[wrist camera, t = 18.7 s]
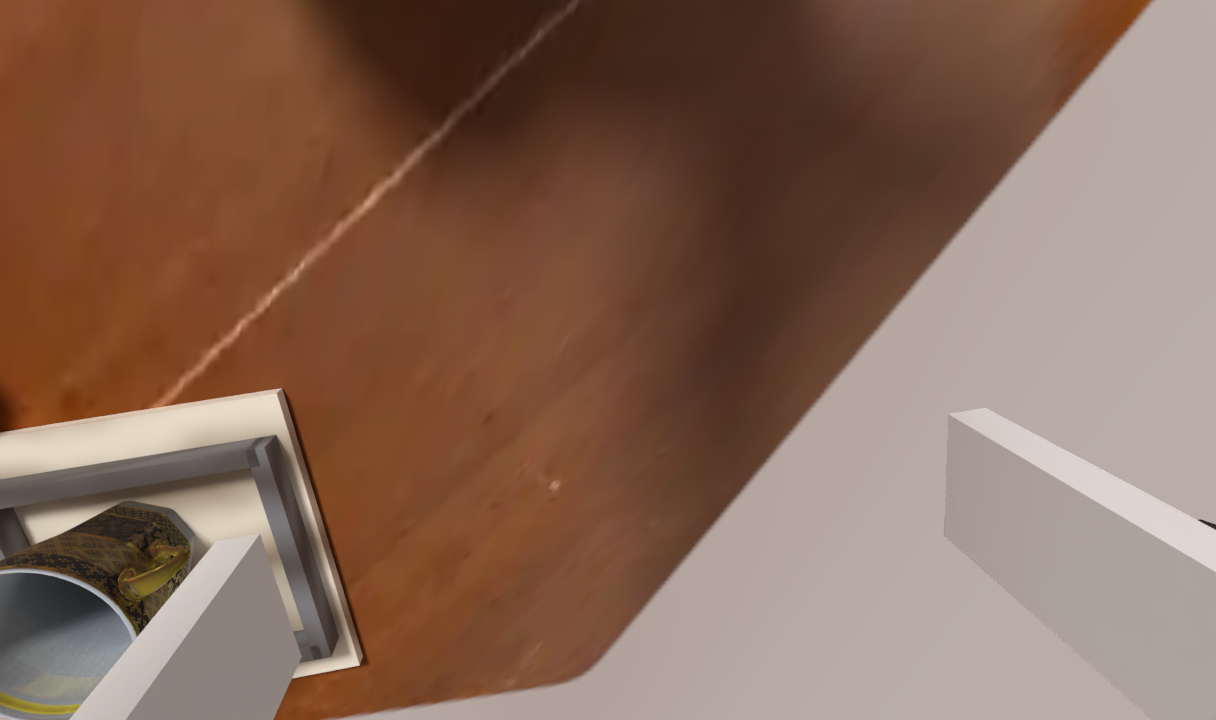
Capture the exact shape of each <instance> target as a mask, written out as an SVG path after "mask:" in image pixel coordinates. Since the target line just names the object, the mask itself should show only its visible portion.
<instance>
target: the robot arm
mask: <svg viewBox="0 0 1216 720" xmlns="http://www.w3.org/2000/svg"><path fill="white" fill-rule="evenodd" d="M946 466H947V467H946V491H945V518H944V519H945V520H944V536H945V537H946V538H947V539H948V540H950V541H951V542H952V543H953V544H954V545H955V546H956V547H958V548H959V549H960V550H961V551H962V552H963V553H964V554H965V555H967V556H968V557H969V558H970V559H971V560H972V561H973V562H974V563H975V564H977V565H978V566H979V567H980V568H981V569H982V570H983V571H984V572H986V573H987V574H988V575H989V576H990V577H991V578H992V579H993V580H995V581H996V582H997V583H998V584H999V585H1000V586H1001V587H1003V588H1004V589H1005V590H1006V591H1007V592H1008V593H1009V594H1010V595H1011V596H1013V597H1014V598H1015V599H1016V600H1017V601H1018V602H1019V603H1020V604H1022V605H1023V606H1024V607H1025V608H1026V609H1027V610H1028V611H1029V612H1031V613H1032V614H1033V615H1034V616H1035V617H1036V618H1038V619H1039V620H1040V621H1041V622H1042V623H1043V624H1044V625H1045V626H1046V627H1048V628H1049V629H1050V630H1051V631H1052V632H1053V633H1054V634H1055V635H1057V636H1058V637H1059V638H1060V639H1061V640H1062V641H1063V642H1064V643H1066V644H1067V645H1068V646H1069V647H1070V648H1071V649H1072V650H1074V651H1075V652H1076V653H1077V654H1078V655H1079V656H1080V657H1081V658H1083V659H1084V660H1085V661H1086V662H1087V663H1088V664H1089V665H1090V666H1091V667H1093V668H1094V669H1095V670H1096V671H1097V672H1098V673H1099V674H1100V675H1102V676H1103V677H1104V678H1105V679H1106V680H1107V681H1108V682H1109V683H1111V684H1112V685H1113V686H1114V687H1115V688H1116V689H1117V690H1119V691H1120V692H1121V693H1122V694H1123V695H1124V696H1125V697H1126V698H1127V699H1129V700H1130V701H1131V702H1132V703H1133V704H1134V705H1135V706H1137V707H1138V708H1139V709H1140V710H1141V711H1142V712H1143V713H1144V714H1146V715H1147V716H1148V717H1149V718H1150V719H1151V720H1216V525H1215V524H1212V523H1209V522H1206V521H1203V520H1196V519H1194V518H1192V517H1190V516H1188V515H1187V514H1185V513H1183V512H1181V511H1179V510H1177V509H1175V508H1173V507H1171V506H1170V505H1168V504H1166V503H1164V502H1162V501H1160V500H1158V499H1156V498H1154V497H1152V496H1151V495H1149V494H1147V493H1145V492H1143V491H1141V490H1139V489H1138V488H1136V487H1134V486H1132V485H1130V484H1128V483H1126V482H1124V481H1122V480H1120V479H1119V478H1117V477H1115V476H1113V475H1111V474H1109V473H1107V472H1105V471H1103V470H1102V469H1100V468H1098V467H1096V466H1094V465H1092V464H1090V463H1088V462H1087V461H1085V460H1083V459H1081V458H1079V457H1077V456H1075V455H1073V454H1071V453H1070V452H1068V451H1066V450H1064V449H1062V448H1060V447H1058V446H1056V445H1054V444H1052V443H1051V442H1049V441H1047V440H1045V439H1043V438H1041V437H1039V436H1037V435H1036V434H1034V433H1032V432H1030V431H1028V430H1026V429H1024V428H1022V427H1020V426H1019V425H1016V424H1015V423H1013V422H1011V421H1009V420H1007V419H1005V418H1003V417H1002V416H999V415H998V414H996V413H994V412H992V411H990V410H988V409H987V408H981V409H975V410H970V411H963V412H958V413H952V414H948V437H947V464H946ZM301 657H302V656H301V653H300V650H299V647H298V644H297V641H296V638H295V635H294V632H293V630H292V627H291V624H290V621H289V618H288V615H287V612H286V609H285V606H284V603H283V600H282V597H281V594H280V591H279V588H278V585H277V582H276V579H275V576H274V573H273V571H272V568H271V565H270V562H269V559H268V556H267V553H266V550H265V547H264V544H263V541H262V538H261V535H260V534H256V535H250V536H244V537H238V538H232V539H227V540H221V541H216V542H215V543H214V545H213V546H212V547H211V548H210V549H209V551H208V552H207V553H206V554H205V555H204V557H203V558H202V559H201V560H200V561H199V563H198V564H197V565H196V566H195V568H194V569H193V570H192V571H191V572H190V574H189V575H188V576H187V577H186V578H185V580H184V581H183V582H182V583H181V585H180V586H179V587H178V588H177V589H176V591H175V592H174V593H173V594H172V595H171V597H170V598H169V599H168V600H167V602H166V603H165V604H164V605H163V606H162V608H161V609H160V610H159V611H158V612H157V614H156V615H155V616H154V617H153V618H152V620H151V621H150V622H149V623H148V625H147V626H146V627H145V628H144V629H143V631H142V632H141V633H140V634H139V635H138V637H137V638H136V639H135V640H134V642H133V643H132V644H131V645H130V646H129V648H128V649H127V650H126V651H125V652H124V654H123V655H122V656H121V657H120V659H119V660H118V661H117V662H116V663H115V665H114V666H113V667H112V668H111V669H110V671H109V672H108V673H107V674H106V675H105V677H104V678H103V679H102V680H101V682H100V683H99V684H98V685H97V686H96V688H95V689H94V690H93V691H92V692H91V694H90V695H89V696H88V697H87V699H86V700H85V701H84V702H83V703H82V705H81V706H80V707H79V708H78V709H77V711H76V712H75V713H74V714H73V716H72V717H71V718H70V719H69V720H273V719H274V717H275V714H276V712H277V710H278V708H279V706H280V703H281V701H282V699H283V697H284V695H285V692H286V690H287V688H288V686H289V684H290V681H291V679H292V677H293V675H294V673H295V671H296V668H297V666H298V664H299V662H300V660H301Z"/></svg>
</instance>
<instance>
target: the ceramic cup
mask: <svg viewBox="0 0 1216 720" xmlns="http://www.w3.org/2000/svg"><path fill="white" fill-rule="evenodd" d="M194 542H195V534H194V533H193V532H192V531H191V530H190V528H189V527H188V526H187V525H186V524H185V523H184V522H183V521H182V520H181V518H180V517H179V516H178V515H177V514H176V513H175V512H174V511H173V509H171V508H167V507H162V506H156V505H151V504H146V503H140V502H135V501H123V502H121V503H119V504H117V505H115V506H113V507H111V508H109V509H107V510H105V511H103V512H101V513H100V514H98V515H96V516H94V517H92V518H91V519H89V520H87V521H85V522H83V523H81V524H79V525H77V526H75V527H73V528H71V529H69V530H67V531H65V532H63V533H61V534H59V535H57V536H54V537H52V538H49V539H47V540H44V541H42V542H39V543H37V544H34V545H32V546H29V547H27V548H25V549H23V550H21V551H19V552H17V553H14V554H12V555H10V556H8V557H6V558H4V559H2V560H0V716H2V717H5V718H8V719H12V720H69V719H70V718H71V717H72V716H73V714H74V713H75V712H76V711H77V709H78V708H79V707H80V706H81V705H82V703H83V702H84V701H85V700H86V699H87V697H88V696H89V695H90V694H91V692H92V691H93V690H94V689H95V688H96V686H97V685H98V684H99V683H100V682H101V680H102V679H103V678H104V677H105V675H106V674H107V673H108V672H109V671H110V669H111V668H112V667H113V666H114V665H115V663H116V662H117V661H118V660H119V659H120V657H121V656H122V655H123V654H124V652H125V651H126V650H127V649H128V648H129V646H130V645H131V644H132V643H133V642H134V640H135V639H136V638H137V637H138V635H139V634H140V633H141V632H142V631H143V629H144V628H145V627H146V626H147V625H148V623H149V622H150V621H151V620H152V618H153V617H154V616H155V615H156V614H157V612H158V611H159V610H160V609H161V608H162V606H163V605H164V604H165V603H166V602H167V600H168V599H169V598H170V597H171V595H172V594H173V593H174V592H175V591H176V589H177V588H178V587H179V586H180V585H181V583H182V582H183V581H184V580H185V578H186V577H187V576H188V574H189V571H190V568H191V561H192V555H193V549H194Z"/></svg>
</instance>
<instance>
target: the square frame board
mask: <svg viewBox="0 0 1216 720" xmlns="http://www.w3.org/2000/svg"><path fill="white" fill-rule="evenodd" d="M123 501H135V502H140V503H146V504H151V505H156V506H162V507H167V508H171V509H173V511H174V512H175V513H176V514H177V515H178V516H179V517H180V518H181V520H182V521H183V522H184V523H185V524H186V525H187V526H188V527H189V528H190V530H191V531H192V532H193V533H194V534H195V542H194V549H193V555H192V561H191V568H190V571H189V574H190V572H191V571H192V570H193V569H194V568H195V566H196V565H197V564H198V563H199V561H200V560H201V559H202V558H203V557H204V555H205V554H206V553H207V552H208V551H209V549H210V548H211V547H212V546H213V545H214V543H215V542H216V541H221V540H227V539H232V538H238V537H244V536H250V535H256V534H260V535H261V538H262V541H263V544H264V547H265V550H266V553H267V556H268V559H269V562H270V565H271V568H272V571H273V573H274V576H275V579H276V582H277V585H278V588H279V591H280V594H281V597H282V600H283V603H284V606H285V609H286V612H287V615H288V618H289V621H290V624H291V627H292V630H293V632H294V635H295V638H296V641H297V644H298V647H299V650H300V653H301V656H302V657H301V660H300V662H299V664H298V666H297V668H296V671H295V673H294V675H293V677H292V678H297V677H302V676H307V675H313V674H318V673H323V672H328V671H334V670H339V669H344V668H349V667H354V666H360V663H361V660H362V657H363V654H362V651H361V648H360V645H359V641H358V638H357V635H356V631H355V628H354V625H353V621H352V618H351V615H350V611H349V608H348V605H347V601H346V598H345V595H344V591H343V588H342V585H341V582H340V578H339V575H338V572H337V568H336V565H335V562H334V558H333V555H332V552H331V548H330V545H329V542H328V538H327V535H326V532H325V529H324V525H323V522H322V519H321V515H320V512H319V509H318V505H317V502H316V499H315V495H314V492H313V489H312V485H311V482H310V479H309V475H308V472H307V469H306V466H305V462H304V459H303V456H302V452H301V449H300V446H299V442H298V439H297V436H296V432H295V429H294V426H293V422H292V419H291V416H290V413H289V409H288V406H287V403H286V399H285V396H284V393H283V389H282V388H280V389H274V390H267V391H261V392H255V393H248V394H242V395H235V396H229V397H223V398H216V399H210V400H204V401H197V402H191V403H184V404H178V405H172V406H165V407H159V408H152V409H146V410H140V411H133V412H127V413H121V414H114V415H108V416H101V417H95V418H89V419H82V420H76V421H69V422H63V423H57V424H50V425H44V426H38V427H31V428H25V429H18V430H12V431H6V432H0V560H2V559H4V558H6V557H8V556H10V555H12V554H14V553H17V552H19V551H21V550H23V549H25V548H27V547H29V546H32V545H34V544H37V543H39V542H42V541H44V540H47V539H49V538H52V537H54V536H57V535H59V534H61V533H63V532H65V531H67V530H69V529H71V528H73V527H75V526H77V525H79V524H81V523H83V522H85V521H87V520H89V519H91V518H92V517H94V516H96V515H98V514H100V513H101V512H103V511H105V510H107V509H109V508H111V507H113V506H115V505H117V504H119V503H121V502H123ZM189 574H188V575H189Z"/></svg>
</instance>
